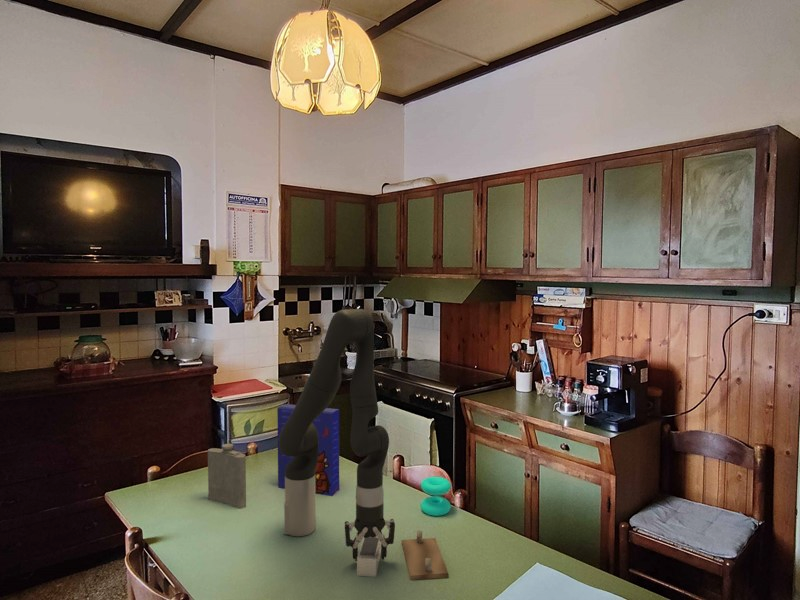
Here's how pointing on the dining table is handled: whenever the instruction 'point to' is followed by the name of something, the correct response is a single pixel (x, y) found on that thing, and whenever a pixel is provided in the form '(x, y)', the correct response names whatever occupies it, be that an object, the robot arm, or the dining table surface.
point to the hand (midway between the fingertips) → (369, 558)
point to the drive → (368, 557)
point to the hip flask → (227, 476)
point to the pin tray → (424, 558)
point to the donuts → (435, 503)
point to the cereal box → (326, 453)
